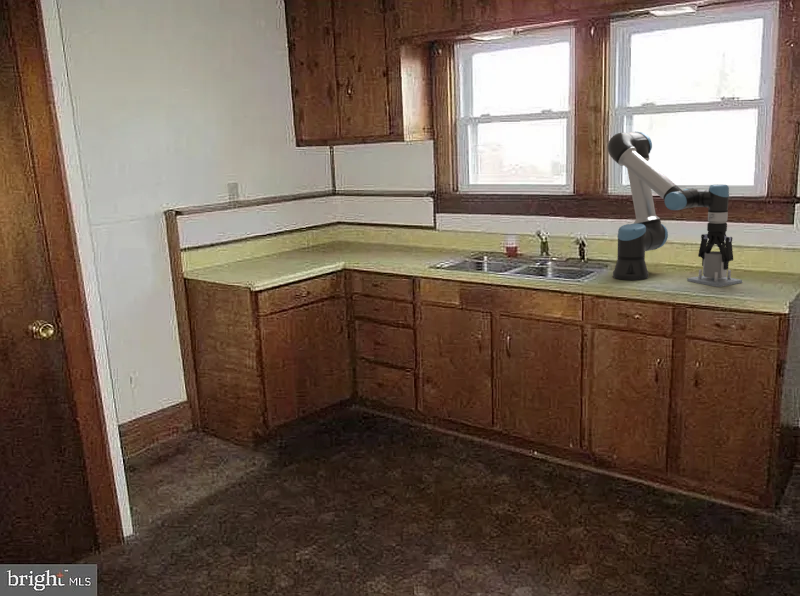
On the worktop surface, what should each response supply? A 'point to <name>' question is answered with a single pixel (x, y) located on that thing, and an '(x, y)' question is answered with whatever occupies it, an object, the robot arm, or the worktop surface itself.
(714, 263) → the cup
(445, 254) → the worktop surface
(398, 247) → the worktop surface
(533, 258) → the worktop surface
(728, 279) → the grey pegged base plate
